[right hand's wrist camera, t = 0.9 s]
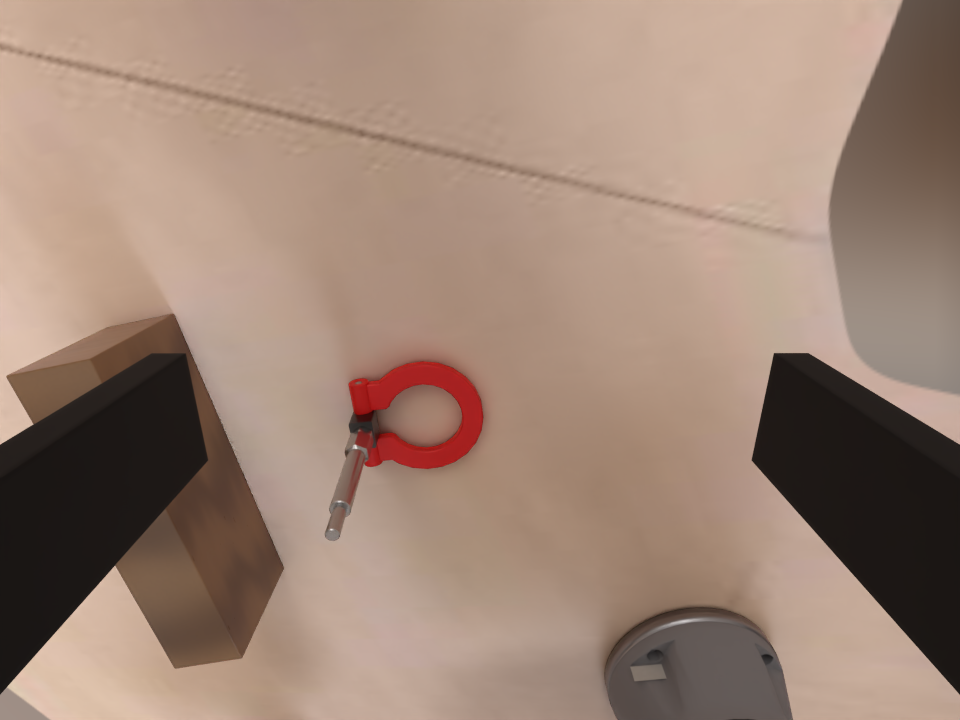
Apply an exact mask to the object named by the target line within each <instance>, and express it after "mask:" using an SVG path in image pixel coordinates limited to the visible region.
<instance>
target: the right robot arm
mask: <svg viewBox="0 0 960 720" xmlns="http://www.w3.org/2000/svg"><path fill="white" fill-rule="evenodd" d="M207 461H208V456H207V452H206V447H205V442H204V437H203V432H202V428H201V423H200V418H199V413H198V409H197V404H196V399H195V394H194V389H193V385H192V380H191V375H190V370H189V366H188V361H187V356H186V353H151V354H150V355H148V356H146V357H145V358H143V359H141V360H140V361H138V362H136V363H135V364H133V365H131V366H130V367H128V368H126V369H125V370H123V371H121V372H120V373H118V374H116V375H115V376H113V377H112V378H110V379H108V380H107V381H105V382H103V383H102V384H100V385H98V386H97V387H95V388H93V389H92V390H90V391H88V392H87V393H85V394H83V395H82V396H80V397H78V398H77V399H75V400H73V401H72V402H70V403H68V404H67V405H65V406H64V407H62V408H60V409H59V410H57V411H55V412H54V413H52V414H50V415H49V416H47V417H45V418H44V419H42V420H40V421H39V422H37V423H35V424H34V425H32V426H30V427H29V428H27V429H25V430H24V431H22V432H21V433H19V434H17V435H16V436H14V437H12V438H11V439H9V440H7V441H6V442H4V443H2V444H1V445H0V694H1V693H2V692H3V691H4V690H5V688H6V687H7V686H8V685H9V684H10V683H11V682H12V681H13V679H14V678H15V677H16V676H17V675H18V674H19V673H20V672H21V671H22V669H23V668H24V667H25V666H26V665H27V664H28V663H29V662H30V660H31V659H32V658H33V657H34V656H35V655H36V654H37V653H38V651H39V650H40V649H41V648H42V647H43V646H44V645H45V644H46V642H47V641H48V640H49V639H50V638H51V637H52V636H53V635H54V633H55V632H56V631H57V630H58V629H59V628H60V627H61V626H62V624H63V623H64V622H65V621H66V620H67V619H68V618H69V617H70V615H71V614H72V613H73V612H74V611H75V610H76V609H77V608H78V606H79V605H80V604H81V603H82V602H83V601H84V600H85V599H86V597H87V596H88V595H89V594H90V593H91V592H92V591H93V590H94V588H95V587H96V586H97V585H98V584H99V583H100V582H101V581H102V579H103V578H104V577H105V576H106V575H107V574H108V573H109V572H110V570H111V569H112V568H113V567H114V566H115V565H116V564H117V563H118V561H119V560H120V559H121V558H122V557H123V556H124V555H125V554H126V552H127V551H128V550H129V549H130V548H131V547H132V546H133V545H134V543H135V542H136V541H137V540H138V539H139V538H140V537H141V536H142V534H143V533H144V532H145V531H146V530H147V529H148V528H149V527H150V525H151V524H152V523H153V522H154V521H155V520H156V519H157V518H158V516H159V515H160V514H161V513H162V512H163V511H164V510H165V509H166V507H167V506H168V505H169V504H170V503H171V502H172V501H173V500H174V498H175V497H176V496H177V495H178V494H179V493H180V492H181V491H182V489H183V488H184V487H185V486H186V485H187V484H188V483H189V482H190V480H191V479H192V478H193V477H194V476H195V475H196V474H197V473H198V471H199V470H200V469H201V468H202V467H203V466H204V465H205V464H206V462H207ZM752 461H753V462H754V464H755V465H756V466H757V467H758V468H759V469H760V470H761V471H762V473H763V474H764V475H765V476H766V477H767V478H768V479H769V480H770V482H771V483H772V484H773V485H774V486H775V487H776V488H777V489H778V491H779V492H780V493H781V494H782V495H783V496H784V497H785V498H786V500H787V501H788V502H789V503H790V504H791V505H792V506H793V507H794V509H795V510H796V511H797V512H798V513H799V514H800V515H801V516H802V518H803V519H804V520H805V521H806V522H807V523H808V524H809V525H810V527H811V528H812V529H813V530H814V531H815V532H816V533H817V534H818V536H819V537H820V538H821V539H822V540H823V541H824V542H825V543H826V545H827V546H828V547H829V548H830V549H831V550H832V551H833V552H834V554H835V555H836V556H837V557H838V558H839V559H840V560H841V561H842V563H843V564H844V565H845V566H846V567H847V568H848V569H849V570H850V572H851V573H852V574H853V575H854V576H855V577H856V578H857V579H858V581H859V582H860V583H861V584H862V585H863V586H864V587H865V588H866V590H867V591H868V592H869V593H870V594H871V595H872V596H873V597H874V599H875V600H876V601H877V602H878V603H879V604H880V605H881V606H882V608H883V609H884V610H885V611H886V612H887V613H888V614H889V615H890V617H891V618H892V619H893V620H894V621H895V622H896V623H897V624H898V626H899V627H900V628H901V629H902V630H903V631H904V632H905V633H906V635H907V636H908V637H909V638H910V639H911V640H912V641H913V642H914V644H915V645H916V646H917V647H918V648H919V649H920V650H921V651H922V653H923V654H924V655H925V656H926V657H927V658H928V659H929V660H930V662H931V663H932V664H933V665H934V666H935V667H936V668H937V669H938V671H939V672H940V673H941V674H942V675H943V676H944V677H945V678H946V680H947V681H948V682H949V683H950V684H951V685H952V686H953V687H954V688H955V690H956V691H957V692H958V693H959V694H960V445H959V444H958V443H956V442H954V441H953V440H951V439H949V438H948V437H946V436H944V435H943V434H941V433H939V432H938V431H936V430H935V429H933V428H931V427H930V426H928V425H926V424H925V423H923V422H921V421H920V420H918V419H916V418H915V417H913V416H911V415H910V414H908V413H906V412H905V411H903V410H901V409H900V408H898V407H896V406H895V405H893V404H892V403H890V402H888V401H887V400H885V399H883V398H882V397H880V396H878V395H877V394H875V393H873V392H872V391H870V390H868V389H867V388H865V387H863V386H862V385H860V384H858V383H857V382H855V381H853V380H852V379H850V378H848V377H847V376H845V375H844V374H842V373H840V372H839V371H837V370H835V369H834V368H832V367H830V366H829V365H827V364H825V363H824V362H822V361H820V360H819V359H817V358H815V357H814V356H812V355H810V354H809V353H774V356H773V361H772V366H771V370H770V375H769V380H768V385H767V389H766V394H765V399H764V404H763V409H762V413H761V418H760V423H759V428H758V432H757V437H756V442H755V447H754V452H753V456H752ZM605 683H606V688H607V692H608V697H609V701H610V704H611V706H612V709H613V711H614V713H615V716H616V718H617V719H618V720H793V718H792V713H791V708H790V703H789V699H788V694H787V689H786V684H785V680H784V675H783V670H782V667H781V664H780V662H779V659H778V657H777V654H776V652H775V651H774V649H773V647H772V646H771V644H770V642H769V640H768V639H767V637H766V636H765V634H764V633H763V632H762V630H761V629H760V628H759V627H757V626H756V625H755V624H754V623H752V622H751V621H750V620H748V619H746V618H744V617H742V616H740V615H738V614H735V613H732V612H729V611H725V610H720V609H714V608H688V609H681V610H676V611H671V612H668V613H664V614H661V615H659V616H656V617H654V618H651V619H649V620H647V621H645V622H643V623H642V624H640V625H638V626H637V627H635V628H634V629H632V630H631V631H630V632H629V633H627V634H626V635H625V636H624V637H623V638H622V639H621V640H620V641H619V642H618V644H617V645H616V646H615V648H614V649H613V651H612V652H611V654H610V656H609V659H608V661H607V665H606V669H605Z"/></svg>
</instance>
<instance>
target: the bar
mask: <svg viewBox="0 0 960 720" xmlns="http://www.w3.org/2000/svg"><path fill="white" fill-rule="evenodd" d="M151 353H186V356H187V361H188V366H189V370H190V375H191V380H192V385H193V389H194V394H195V399H196V404H197V409H198V413H199V418H200V423H201V428H202V432H203V437H204V442H205V447H206V452H207V456H208V461H207V462H206V464H205V465H204V466H203V467H202V468H201V469H200V470H199V471H198V473H197V474H196V475H195V476H194V477H193V478H192V479H191V480H190V482H189V483H188V484H187V485H186V486H185V487H184V488H183V489H182V491H181V492H180V493H179V494H178V495H177V496H176V497H175V498H174V500H173V501H172V502H171V503H170V504H169V505H168V506H167V507H166V509H165V510H164V511H163V512H162V513H161V514H160V515H159V516H158V518H157V519H156V520H155V521H154V522H153V523H152V524H151V525H150V527H149V528H148V529H147V530H146V531H145V532H144V533H143V534H142V536H141V537H140V538H139V539H138V540H137V541H136V542H135V543H134V545H133V546H132V547H131V548H130V549H129V550H128V551H127V552H126V554H125V555H124V556H123V557H122V558H121V559H120V560H119V561H118V563H117V564H116V565H115V566H116V568H117V569H118V571H119V573H120V574H121V576H122V578H123V580H124V581H125V583H126V585H127V587H128V588H129V590H130V592H131V594H132V595H133V597H134V599H135V600H136V602H137V604H138V606H139V607H140V609H141V611H142V613H143V614H144V616H145V618H146V619H147V621H148V623H149V625H150V626H151V628H152V630H153V632H154V633H155V635H156V637H157V639H158V640H159V642H160V644H161V645H162V647H163V649H164V651H165V652H166V654H167V656H168V658H169V659H170V661H171V663H172V664H173V666H174V668H175V669H176V668H183V667H189V666H196V665H202V664H208V663H215V662H221V661H227V660H234V659H240V658H242V657H243V655H244V653H245V651H246V649H247V646H248V644H249V642H250V640H251V638H252V636H253V634H254V631H255V629H256V627H257V625H258V623H259V621H260V619H261V616H262V614H263V612H264V610H265V608H266V606H267V604H268V601H269V599H270V597H271V595H272V593H273V591H274V589H275V586H276V584H277V582H278V580H279V578H280V576H281V573H282V571H283V569H284V568H283V566H282V563H281V561H280V559H279V556H278V554H277V552H276V549H275V547H274V545H273V543H272V540H271V538H270V536H269V533H268V531H267V529H266V526H265V524H264V522H263V519H262V517H261V515H260V513H259V510H258V508H257V506H256V503H255V501H254V499H253V496H252V494H251V492H250V489H249V487H248V485H247V483H246V480H245V478H244V476H243V473H242V471H241V469H240V466H239V464H238V462H237V459H236V457H235V455H234V452H233V450H232V448H231V446H230V443H229V441H228V439H227V436H226V434H225V432H224V429H223V427H222V425H221V422H220V420H219V418H218V416H217V413H216V411H215V409H214V406H213V404H212V402H211V399H210V397H209V395H208V392H207V390H206V388H205V386H204V383H203V381H202V379H201V376H200V374H199V372H198V369H197V367H196V365H195V362H194V360H193V358H192V356H191V353H190V351H189V349H188V346H187V344H186V342H185V339H184V337H183V335H182V332H181V330H180V328H179V326H178V323H177V321H176V319H175V316H174V314H170V315H165V316H160V317H156V318H151V319H146V320H141V321H136V322H132V323H127V324H122V325H117V326H112V327H108V328H105V329H103V330H101V331H99V332H97V333H95V334H93V335H90V336H88V337H86V338H84V339H82V340H80V341H78V342H76V343H74V344H72V345H70V346H68V347H65V348H63V349H61V350H59V351H57V352H55V353H53V354H51V355H49V356H47V357H45V358H42V359H40V360H38V361H36V362H34V363H32V364H30V365H28V366H26V367H24V368H22V369H20V370H17V371H15V372H13V373H11V374H9V375H7V376H6V377H7V379H8V381H9V382H10V384H11V386H12V388H13V389H14V391H15V393H16V395H17V396H18V398H19V400H20V401H21V403H22V405H23V407H24V408H25V410H26V412H27V414H28V415H29V417H30V419H31V420H32V422H33V424H35V423H37V422H39V421H40V420H42V419H44V418H45V417H47V416H49V415H50V414H52V413H54V412H55V411H57V410H59V409H60V408H62V407H64V406H65V405H67V404H68V403H70V402H72V401H73V400H75V399H77V398H78V397H80V396H82V395H83V394H85V393H87V392H88V391H90V390H92V389H93V388H95V387H97V386H98V385H100V384H102V383H103V382H105V381H107V380H108V379H110V378H112V377H113V376H115V375H116V374H118V373H120V372H121V371H123V370H125V369H126V368H128V367H130V366H131V365H133V364H135V363H136V362H138V361H140V360H141V359H143V358H145V357H146V356H148V355H150V354H151Z"/></svg>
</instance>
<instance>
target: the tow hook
mask: <svg viewBox="0 0 960 720" xmlns="http://www.w3.org/2000/svg"><path fill="white" fill-rule="evenodd" d="M422 384H425V385H434V386H437V387H440V388H443V389H444V390H446V391H447V392H449V393H450V394H452V396H453V397H454V398H455V399H456V400H457V401H458V403H459V405H460V407H461V410H462V423H461V425H460V427H459V429H458V431H457V432H456V434H455V435H454V436H453V437H452V438H451V439H449V440H448V441H447V442H445V443H443V444H440V445H438V446H433V447H417V446H414V445H411V444H408V443H406V442H405V441H403V440H401V439H400V438H399V437H398V436H397V435H396V434H394V433H384V434H380V432H379V426H378V421H377V415H376V410H381V409H387V408H388V407H389V406H390V403H391V402H392V400H393V399H394V398H395V396H396V395H397V394H399V393H400V392H401V391H403V390H404V389H407V388H409V387H411V386H415V385H422ZM349 389H350V394H351V399H352V404H353V409H354V412H353V415H352V418H351V420H350V423H349V429H350V433H351V434H350V438H349V440H348V443H347V445H346V448H345V456H346V460H345V463H344V466H343V469H342V472H341V475H340V478H339V481H338V484H337V487H336V490H335V493H334V495H333V498H332V501H331V504H330V508H329V511H330V513H331V516H330V520H329V523H328V526H327V529H326V532H325V537H326V538H327V539H328V540H331V541H335V540H337V539H339V537H340V534H341V530H342V527H343V523H344V520H345V517H347V516H348V515H349V514H350V512H351V509H352V505H353V501H354V498H355V494H356V491H357V487H358V483H359V480H360V476H361V472H362V469H363V465H364V464H365V465H366V466H368V467H374V466H378V465H380V464H381V463H382V462H383V461H385V460H394V461H396V462H397V463H399V464H402V465H405V466H409V467H412V468H422V469H430V468H437V467H443V466H445V465H448V464H450V463H453V462H455V461H457V460H458V459H460V458H461V457H462V456H464V455H465V454H467V453H468V452H469V450H470V449H471V448H472V447H473V446H474V444H475V443H476V441H477V439H478V437H479V435H480V433H481V430H482V423H483V411H482V404H481V399H480V397H479V395H478V393H477V391H476V389H475V387H474V386H473V385H472V383H471V382H470V381H469V380H468V379H467V378H466V377H465V376H464V375H462V374H461V373H459V372H458V371H457V370H455V369H454V368H451V367H448V366H446V365H443V364H440V363H434V362H424V361H422V362H415V363H408V364H405V365H403V366H400V367H398V368H396V369H393V370H392V371H390V372H389V373H388V374H387V375H385V376H384V377H383V378H381V380H377V381H368V380H367V379H356V380H353V381H351V382H349Z"/></svg>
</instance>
